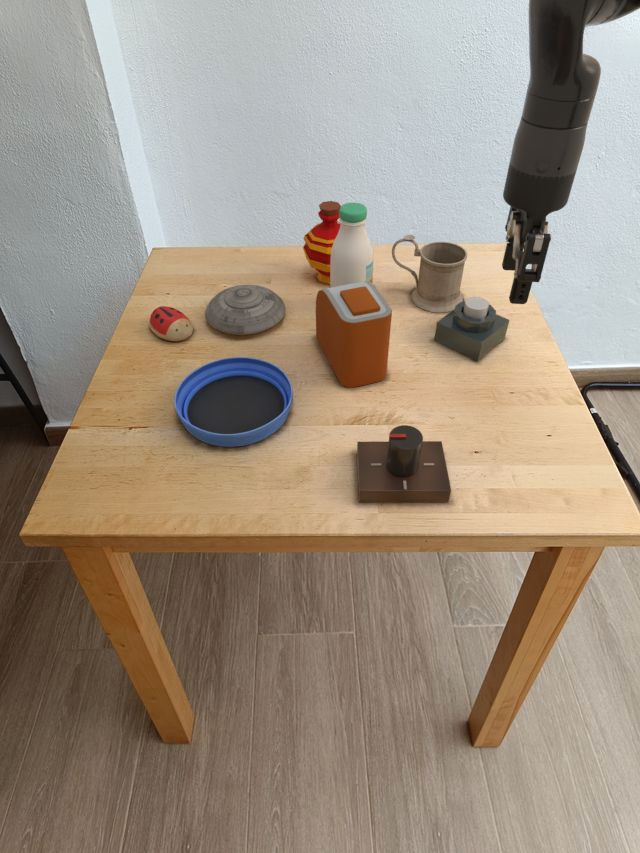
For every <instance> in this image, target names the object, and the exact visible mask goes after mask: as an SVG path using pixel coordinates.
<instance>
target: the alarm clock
mask: <svg viewBox="0 0 640 853" xmlns="http://www.w3.org/2000/svg"><path fill="white" fill-rule="evenodd" d="M392 316H393V309H392V307H391V306H390V304H389V303H388V302H387V301H386V299H385V298H384V296H383V295H382V294H381V292H380V291H379V289H378V288H377V287H376V285H375V284H373V281H372V282H369V281H364V282H358V283H353V284H347V285H342V286H337V287H331V288H330V287H325V288H321V289H319V290H318V291H317V294H316V297H315V338H316V340H317V342H318V344H319V346H320V348H321V350H322V352H323V353H324V355H325V358H326V359H327V361H328V363H329V365H330V367H331V369H332V371H333V373H334V374H335V377H336V378H337V381H338V382H339V383H340V384H341V385H342V386H344V387H345V388H356V387H362V386H366V385H370V384H375V383H379V382H382V381H384V380H385V379H386V378H387V374H388V362H389V349H390V338H391V327H392V326H391V325H392Z"/></svg>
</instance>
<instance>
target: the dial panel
mask: <svg viewBox="0 0 640 853" xmlns="http://www.w3.org/2000/svg"><path fill="white" fill-rule="evenodd" d="M388 442H389V440H387V441H357V444H356V463H357V482H358V483H357V484H358V502H359V503H449V502H450V498H451V493H452V487H451V482H450V478H449V477H450V476H449V471H448V467H447V462H446V457H445V452H444V447H443V442H442V440H435V441H434V440H433V441H431V440H426V441H425V440H423V443H422V449H421V456H420V462H419V468H418V470H417V472H416V473H415V474H413V475H411V476H408V477H400V476H396V475H394V474H392V473H391V472H390V471H389V470H388V468H387V465H386V462H387V452H388Z"/></svg>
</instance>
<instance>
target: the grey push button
mask: <svg viewBox="0 0 640 853" xmlns="http://www.w3.org/2000/svg"><path fill="white" fill-rule="evenodd" d="M464 301H465V304H464V309H463V313H464V315H465V316H467V317H469V318H472V319H482V318H485V317H486V316H487V312H488V307H489V304H490V302H489V300H487V299H485V298H484V297H480V296H469V297H467V298H466V299H465V300H464Z"/></svg>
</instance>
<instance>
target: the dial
mask: <svg viewBox="0 0 640 853" xmlns="http://www.w3.org/2000/svg"><path fill="white" fill-rule="evenodd" d="M388 441H389V442H388ZM388 441H387V442H388V452H387V462H386V465H387V468H388V470H389V471H390V472H391V473H392V474H394V475H396V476H400V477H408V476H411V475H413V474H415V473H416V472H417V470H418V468H419V462H420V456H421V449H422V443H423V441H424V436H423V434H422V432H421V431H420V430H419V429H418V428H417V427H414V426H412V425H405V424H403V425H398V426H395V427H394V428H392V429H391V430H390V432H389V434H388Z"/></svg>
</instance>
